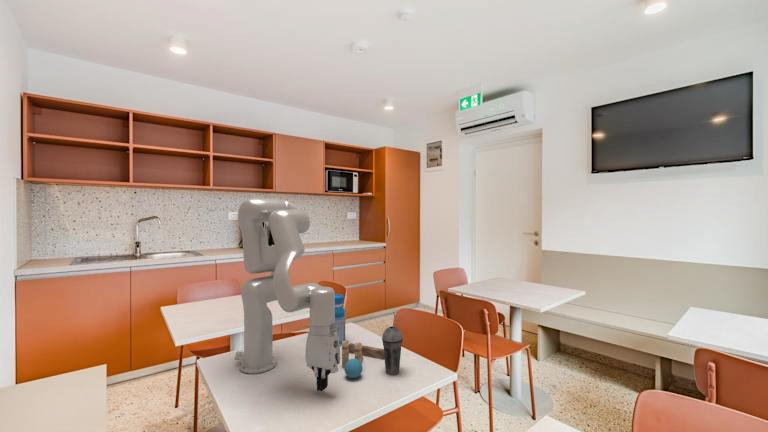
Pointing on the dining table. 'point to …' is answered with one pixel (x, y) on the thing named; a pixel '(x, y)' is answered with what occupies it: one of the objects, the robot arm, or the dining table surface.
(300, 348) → the dining table surface
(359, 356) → the pin
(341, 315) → the beverage bottle
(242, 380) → the dining table surface
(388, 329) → the beverage cup
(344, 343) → the pin
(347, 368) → the ball
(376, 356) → the back rail
